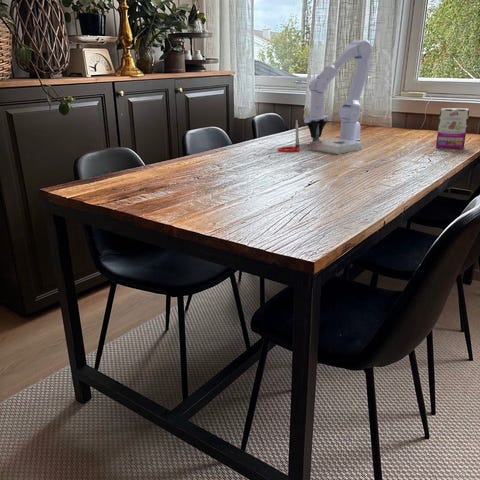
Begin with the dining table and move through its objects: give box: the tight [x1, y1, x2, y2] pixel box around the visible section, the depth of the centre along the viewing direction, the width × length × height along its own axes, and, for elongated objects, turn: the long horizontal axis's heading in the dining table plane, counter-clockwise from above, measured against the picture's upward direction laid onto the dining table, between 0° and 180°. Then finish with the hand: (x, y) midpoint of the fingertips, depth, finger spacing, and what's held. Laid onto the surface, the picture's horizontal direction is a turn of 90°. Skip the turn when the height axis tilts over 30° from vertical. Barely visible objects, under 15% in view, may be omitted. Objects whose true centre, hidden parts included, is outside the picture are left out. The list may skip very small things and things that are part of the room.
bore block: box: [309, 137, 363, 155], centre depth 203 cm, size 16×16×3 cm
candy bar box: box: [435, 107, 470, 150], centre depth 199 cm, size 11×5×16 cm, turn 68°
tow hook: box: [277, 119, 300, 153], centre depth 201 cm, size 8×13×9 cm
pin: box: [311, 124, 320, 142], centre depth 215 cm, size 3×3×9 cm
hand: (315, 137), depth 216 cm, fingers closed on pin, 3 cm apart
